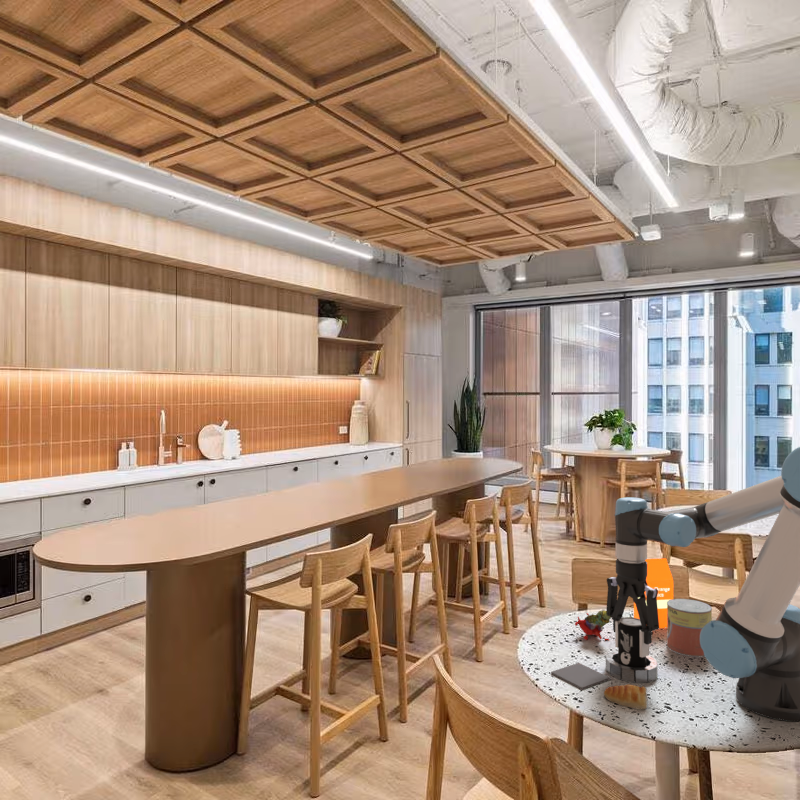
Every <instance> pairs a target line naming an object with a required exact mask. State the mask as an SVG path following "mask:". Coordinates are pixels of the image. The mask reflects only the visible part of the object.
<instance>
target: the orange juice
mask: <svg viewBox="0 0 800 800" xmlns="http://www.w3.org/2000/svg"><path fill="white" fill-rule="evenodd" d="M645 561H646V562H647V577H646V582H647V584H648V586H649V587H650V588H652V589H657V590H658V595H657V608H658V619H659V629H666V628H665V627H667V601H669V600H671V599H674V578H673V574H672V572H671V569H670V565H669V562H668V559H667V558H665V557H664V558H647V559H646V560H645ZM644 593H645V594H646V591H645V592H644ZM645 597H647V596H646V595H645ZM639 598H640V597H639ZM639 598H638V599H639ZM646 605H647V603H646ZM633 618H637V619H640V618H639V615H638V611H637V608H636V604H635V603H634V602H633Z"/></svg>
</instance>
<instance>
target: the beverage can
mask: <svg viewBox="0 0 800 800" xmlns="http://www.w3.org/2000/svg"><path fill="white" fill-rule="evenodd" d="M623 617H624V616H623ZM641 629H642V626H641V622H640V619H637V618H634V617H633V616H632V617H631V616H629V617H628V616H627V617H624V618H621V619H620V623H619V625H618V648H617V650H618V664H621V665H623V666H627V667H632V668H644V667H646V657H643V658H642V657H640V630H641Z"/></svg>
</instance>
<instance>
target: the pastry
mask: <svg viewBox="0 0 800 800" xmlns="http://www.w3.org/2000/svg"><path fill="white" fill-rule="evenodd" d="M603 694H604V697H605V698H606V700H608V701H609V702H611V703H614V704H617V705H619V706H622V707H627V708H632V709H637V710H646V709H647V708H648V693H647V688H646V686H643V685H642V686H638V685H635V684H630V683H628V684H625V685H624V684H621V685H617V684H616V685H614V686H613V685H612V686H608V687H606V688H605V690H604V692H603Z"/></svg>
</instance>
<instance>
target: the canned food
mask: <svg viewBox="0 0 800 800" xmlns="http://www.w3.org/2000/svg"><path fill="white" fill-rule="evenodd" d="M712 610H713V607H712V606H711V605H709V604H708V603H706V602H703V601H701V600H697V599H689V598H673V599H671V600H669V601H667V628H666V630H667V631H666V634H667V636H666V637H667V638H666V639H667V642H666V643H667V644H666V647H667V648H668V649H669V650H670V651H671V652H673V653H676V654H679V655H683V656H685V657H692V658H693V657H695V658H703V657H705V655H704V652H703V649H702V648H701V645H700V632H701V630H702V628H703V627H704V626H705V625H706V624H707V623H709V622H710V621H713V620H712V619H713V618H712ZM705 658H706V657H705Z"/></svg>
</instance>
